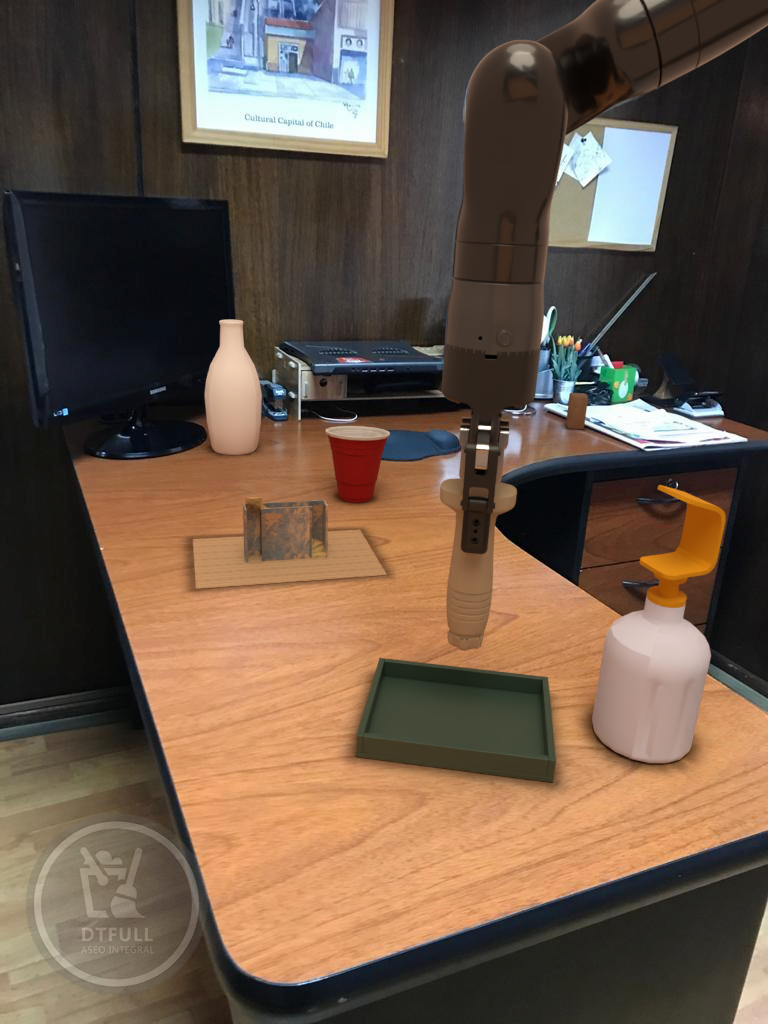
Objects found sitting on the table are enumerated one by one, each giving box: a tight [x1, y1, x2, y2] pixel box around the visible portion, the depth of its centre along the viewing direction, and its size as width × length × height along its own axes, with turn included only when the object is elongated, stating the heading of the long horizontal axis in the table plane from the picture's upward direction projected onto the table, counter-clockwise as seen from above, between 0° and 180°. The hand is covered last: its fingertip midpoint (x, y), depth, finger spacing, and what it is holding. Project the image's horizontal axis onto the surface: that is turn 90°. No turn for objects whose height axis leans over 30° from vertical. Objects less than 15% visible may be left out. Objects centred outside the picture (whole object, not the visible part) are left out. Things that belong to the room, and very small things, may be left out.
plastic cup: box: [325, 425, 391, 504], centre depth 131 cm, size 11×11×12 cm
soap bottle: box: [591, 484, 727, 764], centre depth 69 cm, size 9×9×25 cm
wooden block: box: [565, 392, 589, 430], centre depth 185 cm, size 4×4×8 cm
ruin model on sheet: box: [192, 495, 388, 590], centre depth 106 cm, size 25×16×10 cm, turn 104°
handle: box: [439, 477, 518, 652], centre depth 68 cm, size 5×6×15 cm
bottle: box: [204, 319, 263, 456], centre depth 152 cm, size 11×11×25 cm
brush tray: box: [355, 657, 557, 783], centre depth 73 cm, size 17×13×2 cm
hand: (475, 538), depth 67 cm, fingers closed on handle, 5 cm apart
